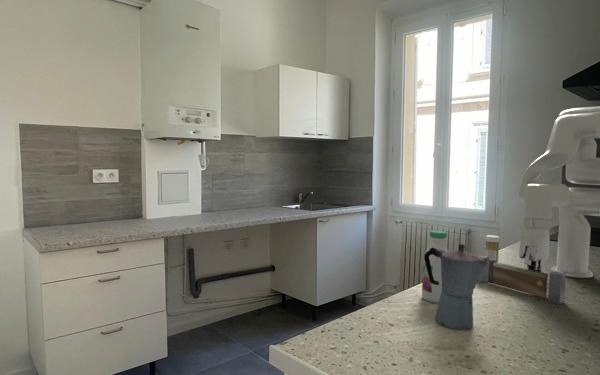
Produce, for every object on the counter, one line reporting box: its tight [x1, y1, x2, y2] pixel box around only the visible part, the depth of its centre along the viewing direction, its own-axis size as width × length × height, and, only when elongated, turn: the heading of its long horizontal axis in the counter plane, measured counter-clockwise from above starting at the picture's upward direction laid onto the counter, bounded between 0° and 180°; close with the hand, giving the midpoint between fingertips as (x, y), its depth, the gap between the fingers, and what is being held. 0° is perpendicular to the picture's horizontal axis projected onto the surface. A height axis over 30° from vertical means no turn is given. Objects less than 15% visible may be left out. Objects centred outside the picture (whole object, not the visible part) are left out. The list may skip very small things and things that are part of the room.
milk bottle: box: [421, 229, 449, 304], centre depth 115 cm, size 8×8×20 cm
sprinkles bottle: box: [484, 234, 501, 271], centre depth 144 cm, size 5×5×13 cm
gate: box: [487, 260, 549, 299], centre depth 124 cm, size 3×18×8 cm, turn 35°
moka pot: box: [423, 244, 489, 331], centre depth 98 cm, size 10×15×20 cm, turn 58°
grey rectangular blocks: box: [477, 254, 567, 305], centre depth 124 cm, size 3×26×8 cm, turn 35°
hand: (533, 281), depth 124 cm, fingers closed
